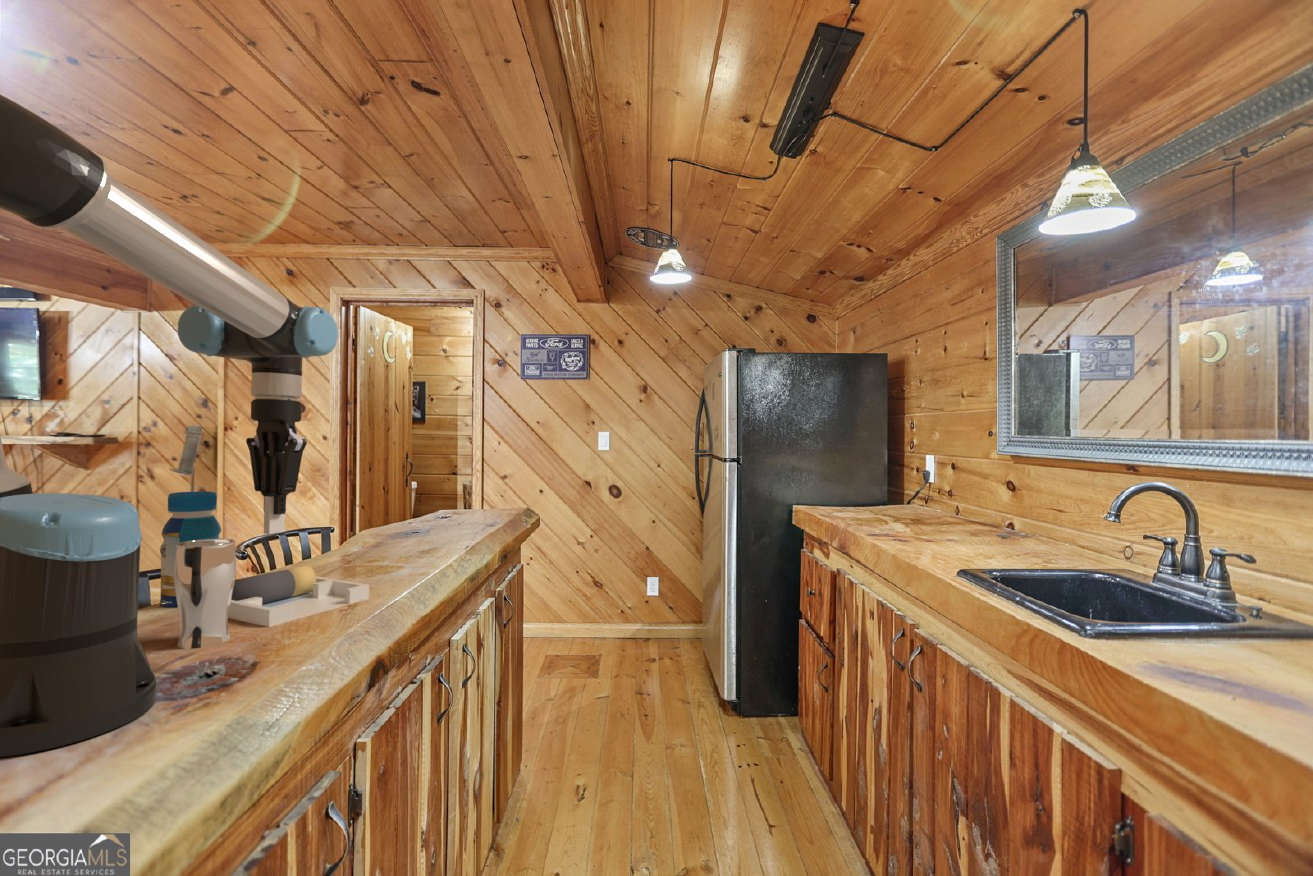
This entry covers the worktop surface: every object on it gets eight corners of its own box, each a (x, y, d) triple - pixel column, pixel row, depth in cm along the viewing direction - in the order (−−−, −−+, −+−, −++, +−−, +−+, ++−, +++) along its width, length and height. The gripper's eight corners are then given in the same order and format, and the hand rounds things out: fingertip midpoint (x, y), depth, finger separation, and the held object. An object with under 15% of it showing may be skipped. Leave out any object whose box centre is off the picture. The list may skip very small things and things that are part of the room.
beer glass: (246, 641, 86) (248, 539, 86) (205, 658, 79) (207, 547, 79) (203, 638, 86) (205, 537, 86) (158, 655, 79) (161, 545, 79)
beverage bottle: (205, 612, 99) (208, 494, 99) (147, 615, 97) (149, 495, 97) (229, 599, 107) (231, 490, 107) (176, 601, 105) (178, 490, 105)
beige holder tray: (269, 633, 89) (269, 610, 89) (199, 617, 96) (200, 596, 96) (368, 604, 106) (369, 584, 106) (303, 592, 113) (304, 574, 113)
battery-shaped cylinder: (242, 612, 96) (242, 581, 96) (223, 609, 98) (223, 579, 98) (316, 593, 107) (316, 566, 108) (298, 591, 109) (298, 564, 110)
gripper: (322, 400, 104) (319, 532, 103) (273, 401, 109) (271, 527, 109) (280, 397, 97) (277, 538, 97) (231, 398, 102) (228, 532, 102)
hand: (274, 532), depth 103 cm, fingers closed
